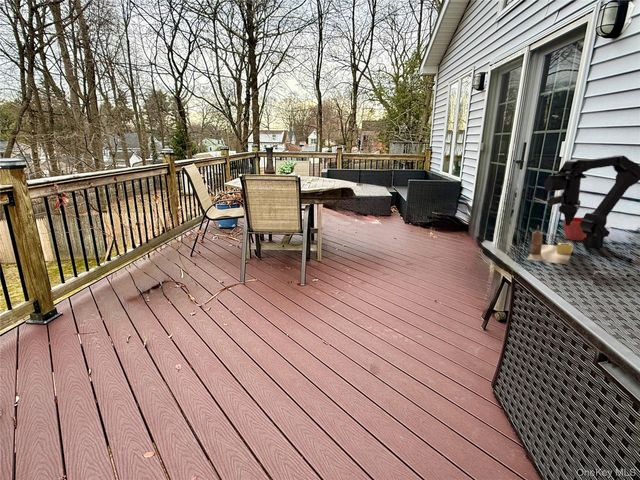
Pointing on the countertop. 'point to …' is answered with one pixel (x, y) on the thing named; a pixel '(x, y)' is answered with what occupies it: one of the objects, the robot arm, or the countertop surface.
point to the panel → (550, 255)
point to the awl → (536, 242)
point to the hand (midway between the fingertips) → (568, 224)
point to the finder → (564, 248)
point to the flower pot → (574, 230)
